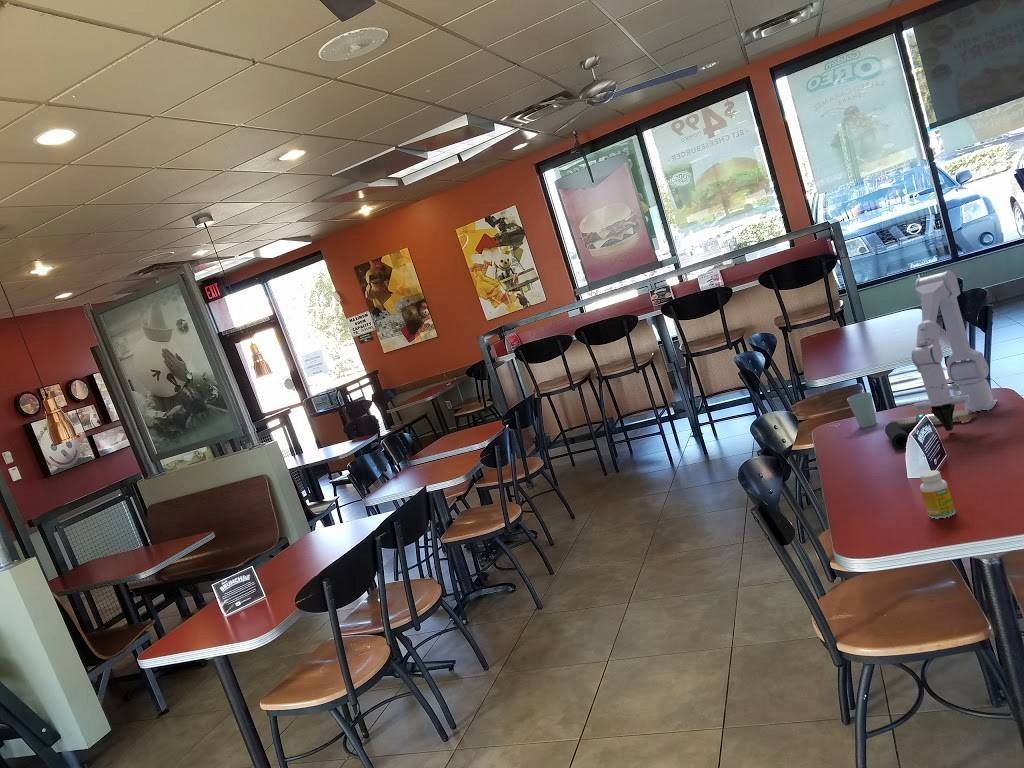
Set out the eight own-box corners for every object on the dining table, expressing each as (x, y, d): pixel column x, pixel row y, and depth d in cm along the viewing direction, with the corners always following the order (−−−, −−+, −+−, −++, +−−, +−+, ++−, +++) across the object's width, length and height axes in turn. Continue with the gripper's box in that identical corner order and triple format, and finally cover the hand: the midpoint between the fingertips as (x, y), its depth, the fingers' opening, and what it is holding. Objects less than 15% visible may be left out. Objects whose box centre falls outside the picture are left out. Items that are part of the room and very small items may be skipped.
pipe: (891, 432, 242) (887, 422, 242) (896, 427, 246) (892, 417, 245) (969, 422, 226) (965, 410, 226) (973, 417, 230) (969, 405, 229)
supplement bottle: (945, 520, 166) (931, 478, 165) (923, 518, 171) (910, 477, 170) (961, 511, 168) (948, 469, 167) (940, 509, 173) (927, 468, 172)
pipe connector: (922, 413, 233) (932, 424, 219) (928, 429, 234) (937, 441, 220) (882, 424, 237) (889, 435, 223) (888, 440, 238) (895, 452, 224)
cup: (851, 429, 262) (842, 400, 261) (865, 421, 265) (856, 393, 264) (869, 428, 255) (860, 399, 254) (884, 420, 258) (875, 391, 258)
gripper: (905, 393, 224) (919, 437, 225) (959, 384, 213) (973, 430, 214) (913, 386, 229) (926, 429, 230) (966, 377, 218) (980, 422, 219)
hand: (949, 429), depth 222 cm, fingers closed
